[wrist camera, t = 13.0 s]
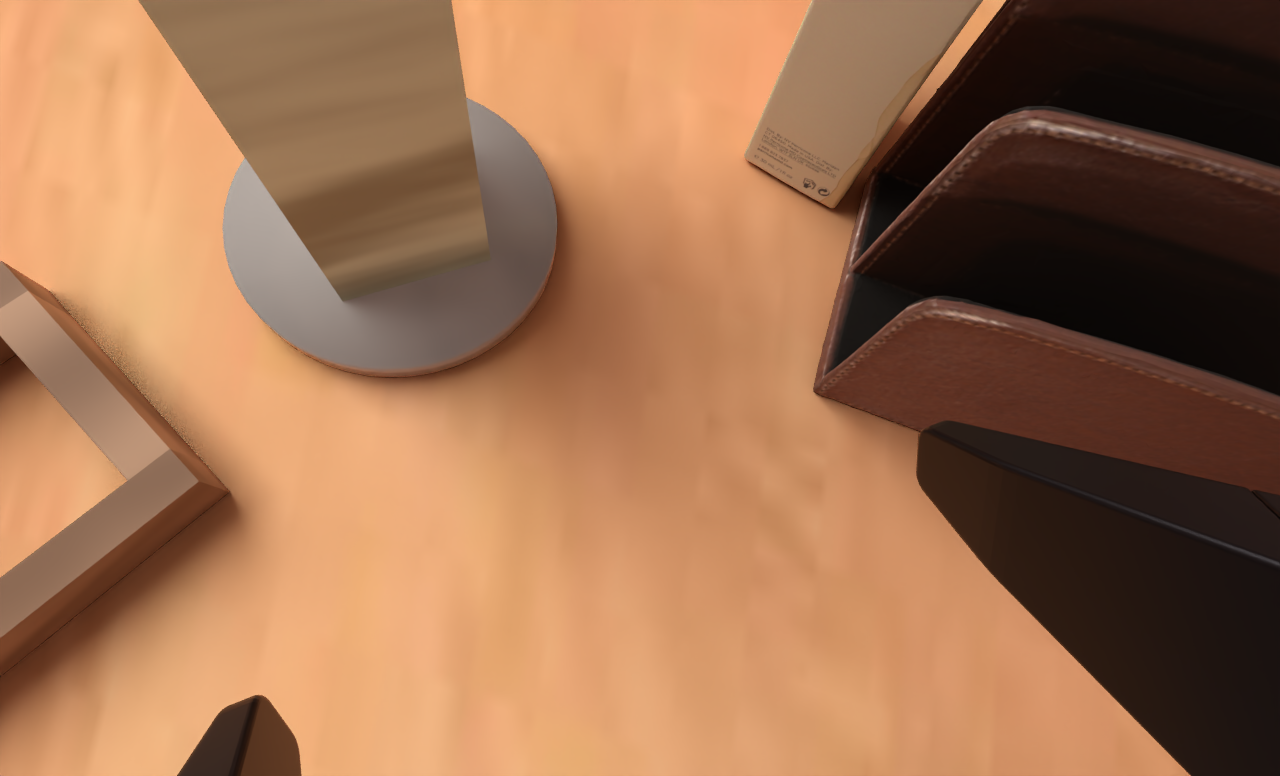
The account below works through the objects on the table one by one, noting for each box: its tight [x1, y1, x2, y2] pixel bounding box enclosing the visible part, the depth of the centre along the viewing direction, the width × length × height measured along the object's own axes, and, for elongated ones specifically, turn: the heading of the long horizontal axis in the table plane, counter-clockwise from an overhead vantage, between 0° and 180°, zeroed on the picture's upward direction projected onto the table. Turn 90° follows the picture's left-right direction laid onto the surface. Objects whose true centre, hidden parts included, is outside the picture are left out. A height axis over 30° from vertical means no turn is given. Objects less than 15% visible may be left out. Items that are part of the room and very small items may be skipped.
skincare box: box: [744, 0, 983, 208], centre depth 22 cm, size 6×4×12 cm
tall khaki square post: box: [139, 0, 491, 301], centre depth 17 cm, size 5×5×13 cm
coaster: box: [223, 98, 557, 377], centre depth 24 cm, size 11×11×1 cm
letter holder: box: [813, 0, 1280, 495], centre depth 20 cm, size 10×20×14 cm, turn 71°
